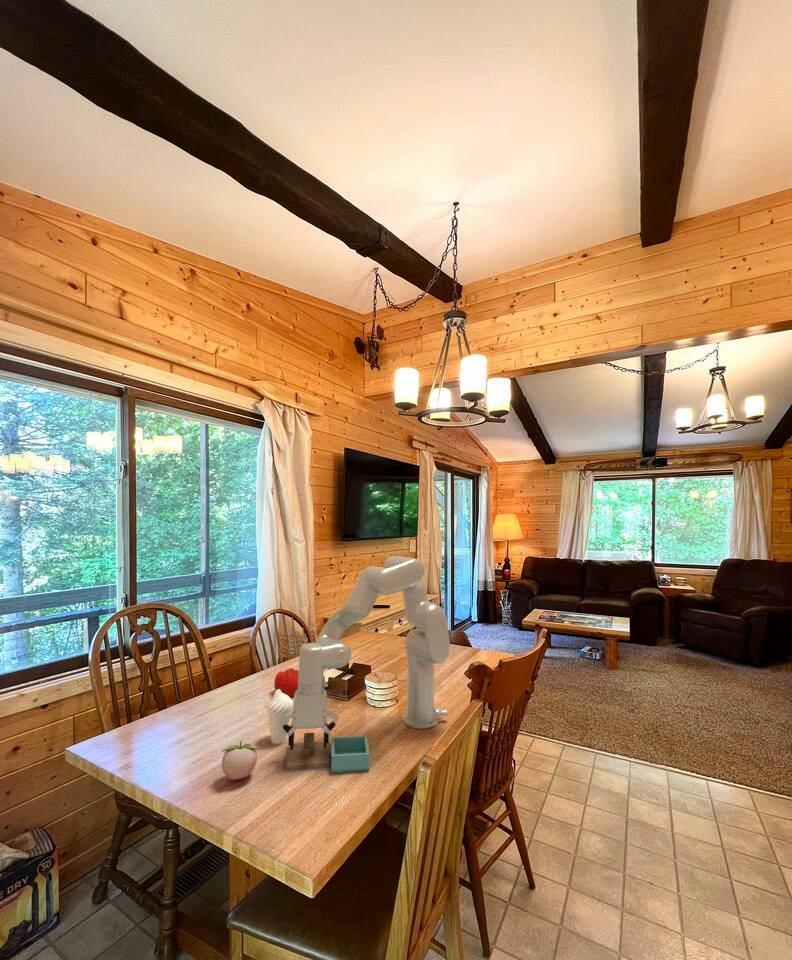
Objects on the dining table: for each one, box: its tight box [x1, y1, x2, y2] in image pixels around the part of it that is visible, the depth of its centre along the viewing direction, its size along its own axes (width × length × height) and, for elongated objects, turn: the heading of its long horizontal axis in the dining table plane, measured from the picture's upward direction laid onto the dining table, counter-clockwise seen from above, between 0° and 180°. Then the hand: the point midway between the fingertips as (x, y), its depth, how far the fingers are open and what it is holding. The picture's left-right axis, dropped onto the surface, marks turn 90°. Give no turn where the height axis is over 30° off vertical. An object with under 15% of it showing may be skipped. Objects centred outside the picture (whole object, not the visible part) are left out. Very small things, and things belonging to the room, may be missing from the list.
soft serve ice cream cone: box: [266, 689, 294, 745], centre depth 139 cm, size 8×8×16 cm
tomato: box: [273, 667, 299, 697], centre depth 176 cm, size 11×12×9 cm
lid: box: [286, 732, 330, 770], centre depth 129 cm, size 12×12×6 cm
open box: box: [330, 735, 370, 775], centre depth 127 cm, size 11×11×5 cm
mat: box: [281, 743, 332, 773], centre depth 129 cm, size 14×14×1 cm
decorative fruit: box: [221, 741, 259, 781], centre depth 118 cm, size 9×8×10 cm
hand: (308, 746), depth 129 cm, fingers open, 9 cm apart
